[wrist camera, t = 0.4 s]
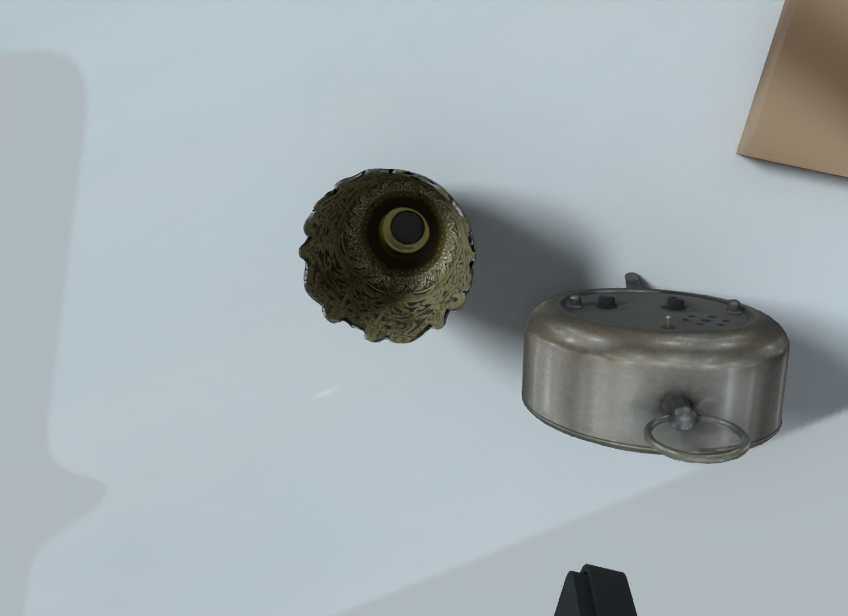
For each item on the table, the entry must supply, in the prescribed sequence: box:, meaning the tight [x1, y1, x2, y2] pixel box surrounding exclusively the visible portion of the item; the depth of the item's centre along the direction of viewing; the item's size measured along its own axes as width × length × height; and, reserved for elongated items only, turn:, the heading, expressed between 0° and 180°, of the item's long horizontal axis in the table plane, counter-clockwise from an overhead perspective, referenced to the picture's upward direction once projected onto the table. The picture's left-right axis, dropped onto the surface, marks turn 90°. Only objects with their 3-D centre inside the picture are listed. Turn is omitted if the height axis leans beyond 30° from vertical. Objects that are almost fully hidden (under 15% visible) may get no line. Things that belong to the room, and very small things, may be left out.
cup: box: [299, 169, 476, 343], centre depth 35 cm, size 8×7×8 cm
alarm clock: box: [522, 272, 789, 464], centre depth 31 cm, size 11×5×16 cm, turn 90°
